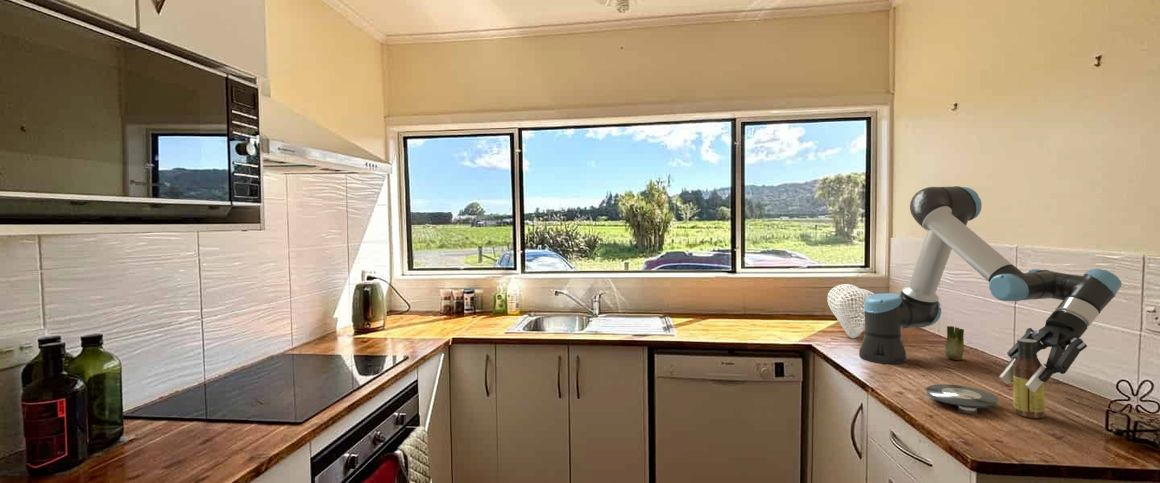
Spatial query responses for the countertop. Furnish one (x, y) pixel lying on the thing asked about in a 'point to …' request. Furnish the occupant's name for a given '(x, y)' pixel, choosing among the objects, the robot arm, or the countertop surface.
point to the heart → (839, 313)
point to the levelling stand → (962, 397)
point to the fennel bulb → (954, 343)
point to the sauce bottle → (1022, 372)
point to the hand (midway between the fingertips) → (1016, 384)
